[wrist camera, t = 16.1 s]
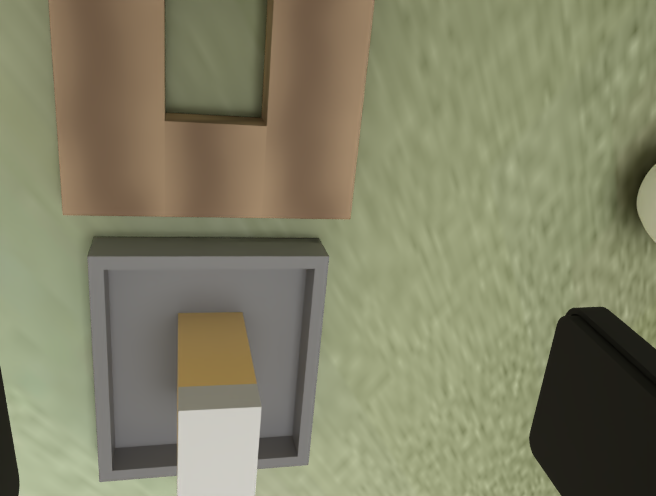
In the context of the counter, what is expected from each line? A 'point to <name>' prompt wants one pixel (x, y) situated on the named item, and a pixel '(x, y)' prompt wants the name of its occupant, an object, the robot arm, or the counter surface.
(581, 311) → the robot arm
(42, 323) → the counter surface
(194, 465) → the block
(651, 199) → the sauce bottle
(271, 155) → the wooden plate with hole
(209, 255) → the parts tray
